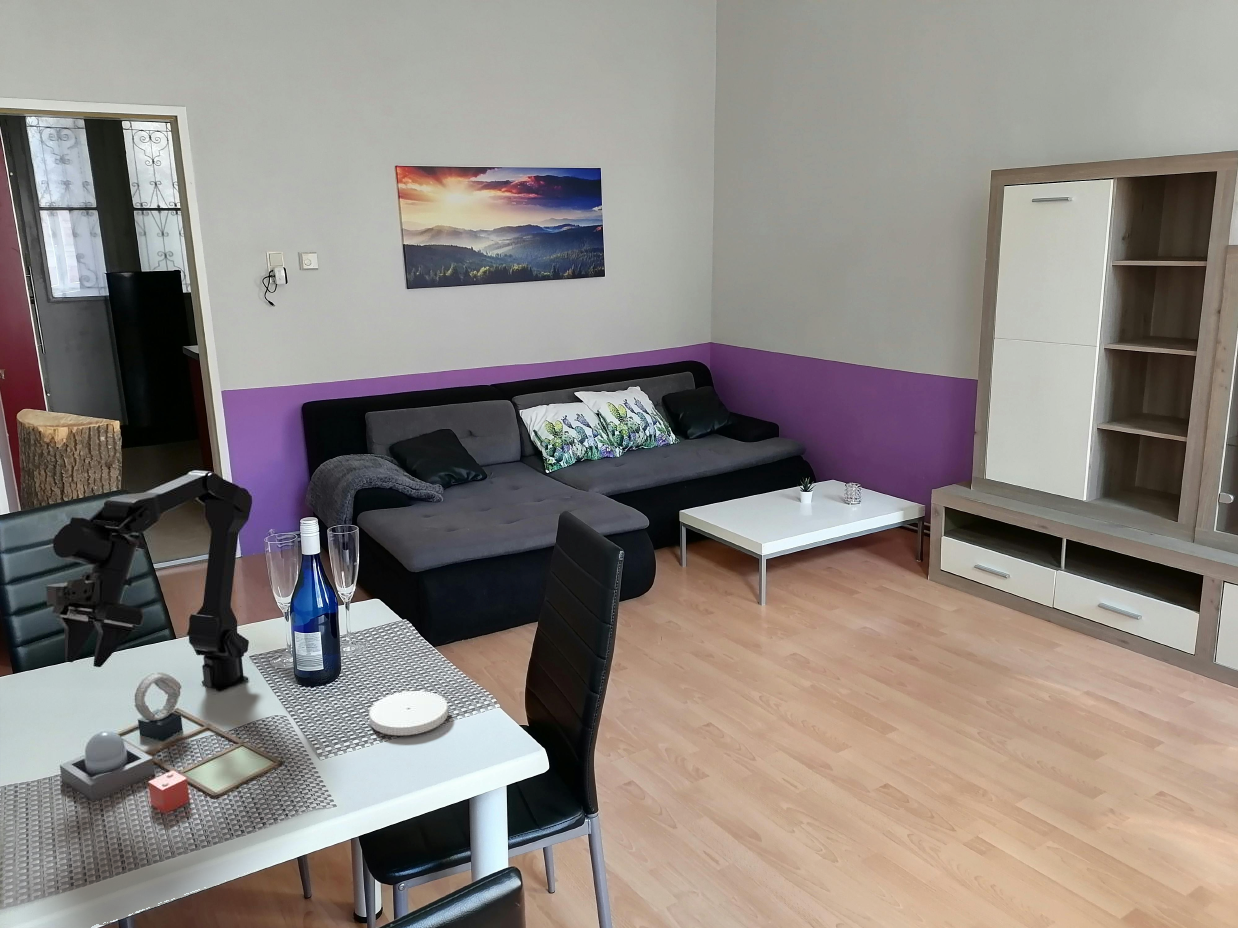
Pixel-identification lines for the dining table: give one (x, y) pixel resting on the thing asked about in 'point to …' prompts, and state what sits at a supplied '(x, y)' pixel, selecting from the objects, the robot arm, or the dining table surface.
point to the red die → (169, 791)
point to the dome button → (105, 753)
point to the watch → (160, 720)
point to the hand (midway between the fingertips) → (82, 664)
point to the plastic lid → (408, 713)
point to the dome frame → (107, 775)
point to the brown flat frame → (217, 761)
